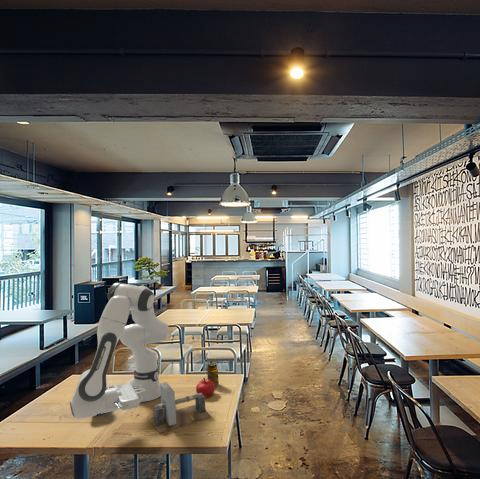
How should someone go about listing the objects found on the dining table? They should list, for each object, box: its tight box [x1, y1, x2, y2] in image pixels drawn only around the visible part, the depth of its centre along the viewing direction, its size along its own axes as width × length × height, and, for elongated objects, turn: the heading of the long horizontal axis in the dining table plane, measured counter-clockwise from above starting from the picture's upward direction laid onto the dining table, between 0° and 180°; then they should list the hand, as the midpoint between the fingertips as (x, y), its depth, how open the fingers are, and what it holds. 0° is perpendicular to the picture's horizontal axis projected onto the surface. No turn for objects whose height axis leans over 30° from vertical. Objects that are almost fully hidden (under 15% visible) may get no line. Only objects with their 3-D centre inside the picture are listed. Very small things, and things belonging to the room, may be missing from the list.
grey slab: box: [159, 381, 177, 426], centre depth 161 cm, size 3×13×14 cm, turn 27°
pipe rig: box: [150, 393, 211, 434], centre depth 164 cm, size 24×14×9 cm, turn 118°
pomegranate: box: [195, 377, 216, 398], centre depth 187 cm, size 10×10×9 cm
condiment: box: [206, 362, 222, 389], centre depth 198 cm, size 7×8×12 cm
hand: (145, 391), depth 156 cm, fingers closed
